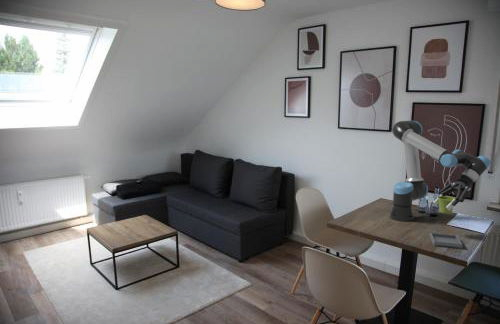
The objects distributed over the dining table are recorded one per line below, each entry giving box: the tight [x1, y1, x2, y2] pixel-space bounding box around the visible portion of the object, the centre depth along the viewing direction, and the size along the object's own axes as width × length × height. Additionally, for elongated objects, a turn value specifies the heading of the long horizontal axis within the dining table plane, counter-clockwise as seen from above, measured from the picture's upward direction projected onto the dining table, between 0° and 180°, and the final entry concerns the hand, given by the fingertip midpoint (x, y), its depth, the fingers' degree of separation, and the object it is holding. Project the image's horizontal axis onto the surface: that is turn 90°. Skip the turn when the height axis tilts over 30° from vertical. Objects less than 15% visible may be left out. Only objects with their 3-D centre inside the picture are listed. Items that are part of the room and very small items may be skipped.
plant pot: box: [437, 195, 456, 215], centre depth 199 cm, size 9×9×9 cm
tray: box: [429, 232, 463, 250], centre depth 188 cm, size 13×13×3 cm
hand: (441, 206), depth 198 cm, fingers closed on plant pot, 9 cm apart
